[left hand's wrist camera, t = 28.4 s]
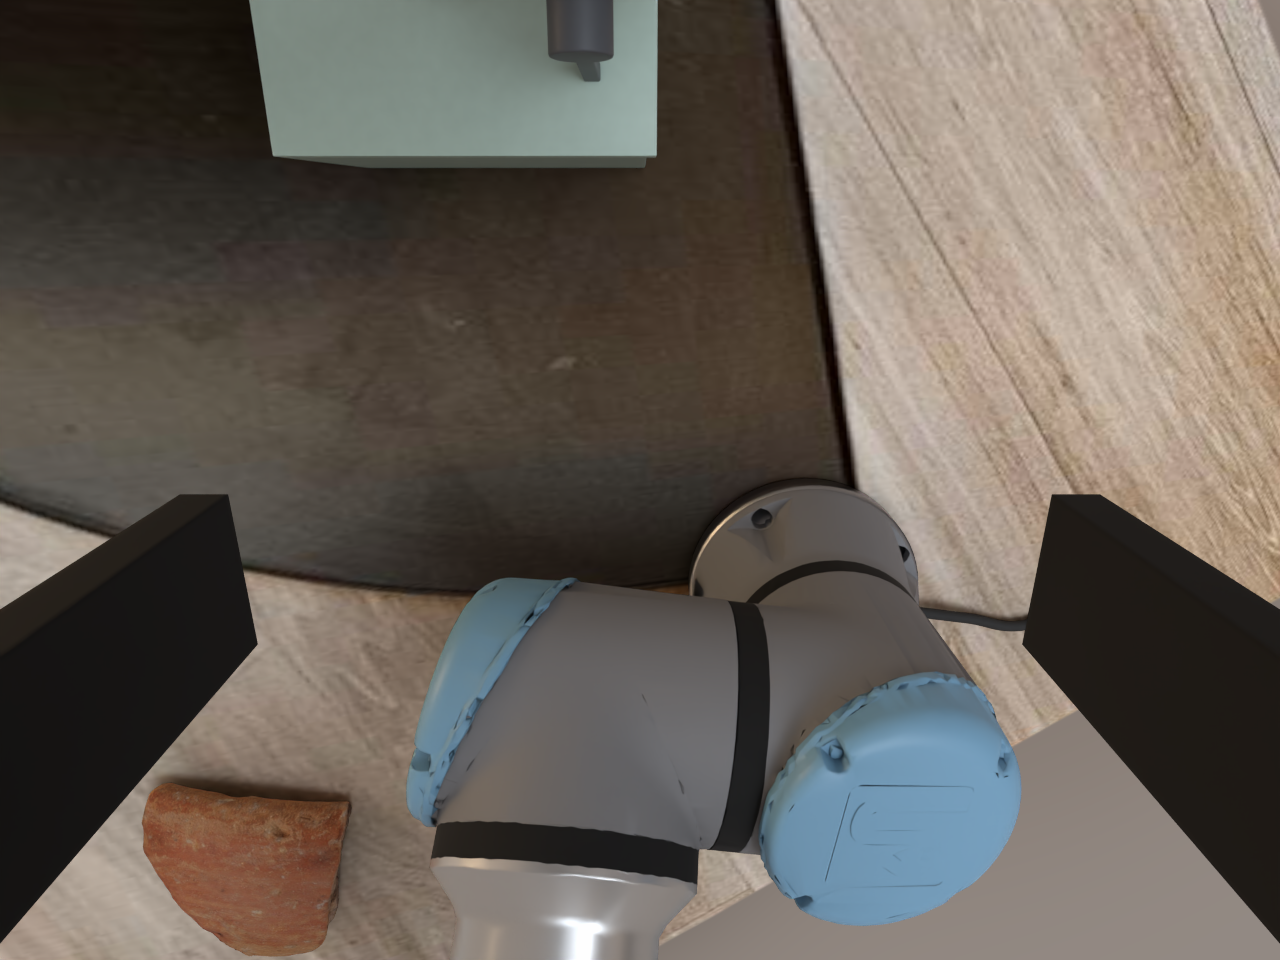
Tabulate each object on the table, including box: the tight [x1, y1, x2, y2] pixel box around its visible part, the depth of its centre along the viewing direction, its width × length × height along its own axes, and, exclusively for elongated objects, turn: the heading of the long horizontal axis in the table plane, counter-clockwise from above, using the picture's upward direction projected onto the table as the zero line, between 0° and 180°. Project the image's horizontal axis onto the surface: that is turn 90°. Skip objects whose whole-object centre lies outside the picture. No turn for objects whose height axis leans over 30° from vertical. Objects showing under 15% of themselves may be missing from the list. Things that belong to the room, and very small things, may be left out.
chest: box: [292, 158, 646, 168], centre depth 37 cm, size 16×12×11 cm
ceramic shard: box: [142, 783, 351, 957], centre depth 60 cm, size 15×6×15 cm
